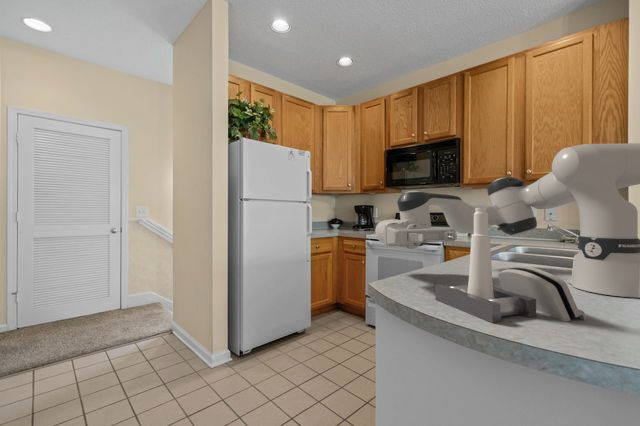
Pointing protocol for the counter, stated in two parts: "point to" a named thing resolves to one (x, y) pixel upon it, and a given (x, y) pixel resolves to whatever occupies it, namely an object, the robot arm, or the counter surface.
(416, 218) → the robot arm
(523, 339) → the counter surface
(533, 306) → the grey hollow rectangular frame
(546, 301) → the grey curved wedge
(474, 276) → the cosmetic bottle
